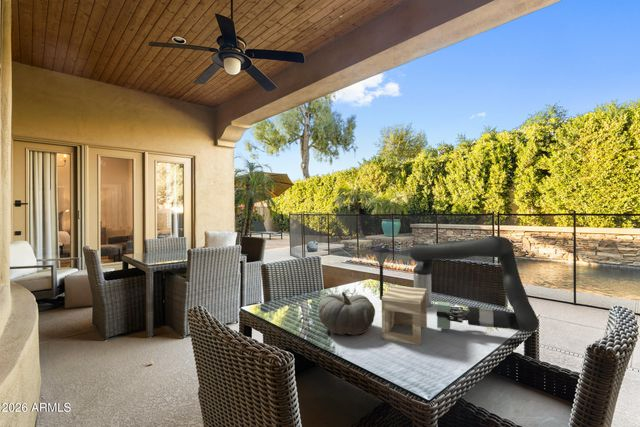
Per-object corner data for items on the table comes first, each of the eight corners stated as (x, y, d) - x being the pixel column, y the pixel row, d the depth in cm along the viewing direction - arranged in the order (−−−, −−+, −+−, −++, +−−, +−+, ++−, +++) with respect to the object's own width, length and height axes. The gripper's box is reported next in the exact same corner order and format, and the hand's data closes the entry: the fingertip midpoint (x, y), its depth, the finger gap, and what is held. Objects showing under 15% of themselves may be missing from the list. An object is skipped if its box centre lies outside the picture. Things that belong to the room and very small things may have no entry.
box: (392, 322, 149) (392, 285, 148) (426, 326, 142) (426, 288, 142) (382, 338, 130) (381, 297, 130) (420, 345, 124) (420, 301, 124)
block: (438, 323, 142) (438, 301, 142) (450, 325, 140) (450, 302, 140) (437, 327, 138) (437, 304, 138) (449, 329, 136) (449, 305, 136)
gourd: (308, 317, 149) (315, 281, 148) (355, 319, 158) (362, 285, 157) (327, 344, 126) (335, 302, 124) (381, 344, 134) (389, 305, 133)
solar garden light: (369, 301, 181) (369, 249, 181) (372, 295, 193) (371, 246, 192) (391, 303, 178) (391, 249, 177) (393, 297, 189) (392, 246, 189)
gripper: (479, 303, 139) (438, 299, 147) (480, 313, 126) (435, 308, 134) (479, 320, 140) (438, 315, 147) (481, 331, 127) (435, 326, 134)
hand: (437, 312), depth 140 cm, fingers closed on block, 5 cm apart
